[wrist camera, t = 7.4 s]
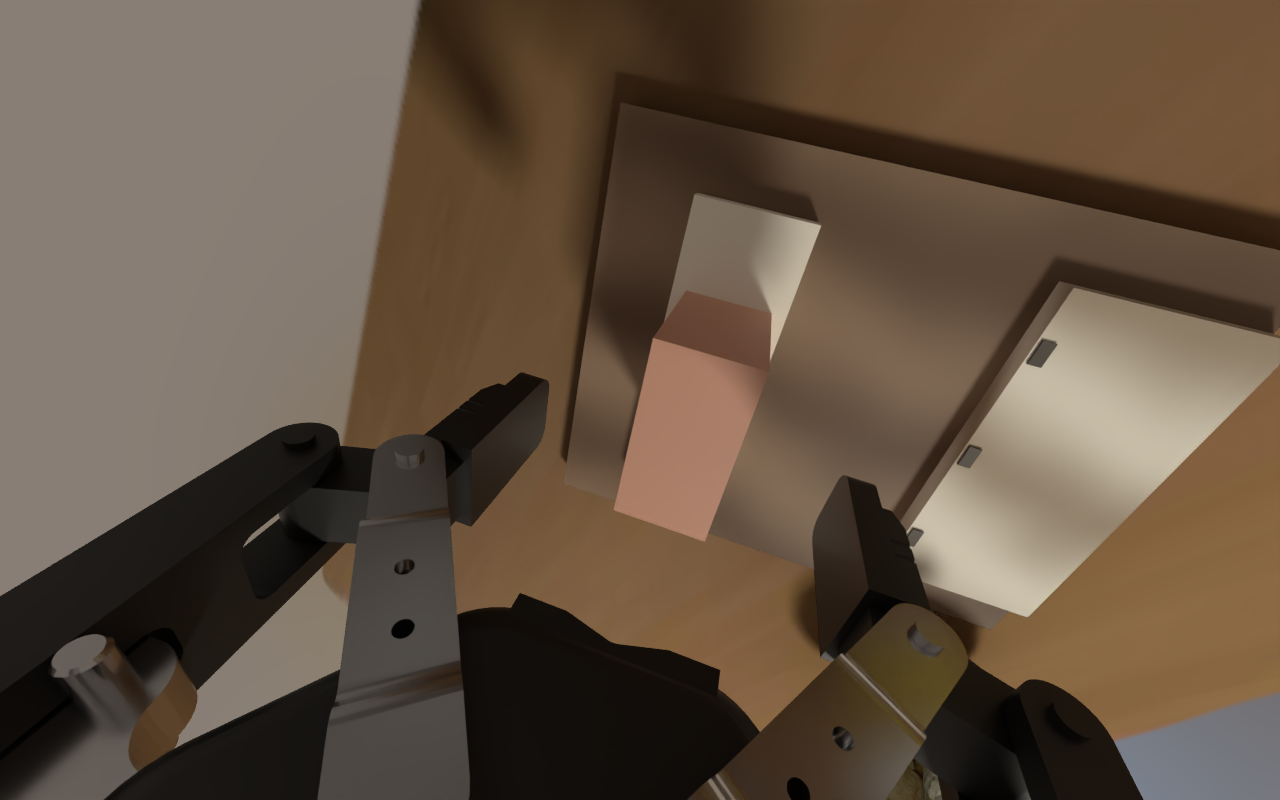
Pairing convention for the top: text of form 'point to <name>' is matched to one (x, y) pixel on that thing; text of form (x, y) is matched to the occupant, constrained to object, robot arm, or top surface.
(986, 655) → the top surface
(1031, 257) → the board
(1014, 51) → the top surface
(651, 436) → the pink and white block
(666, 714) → the robot arm
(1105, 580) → the top surface
